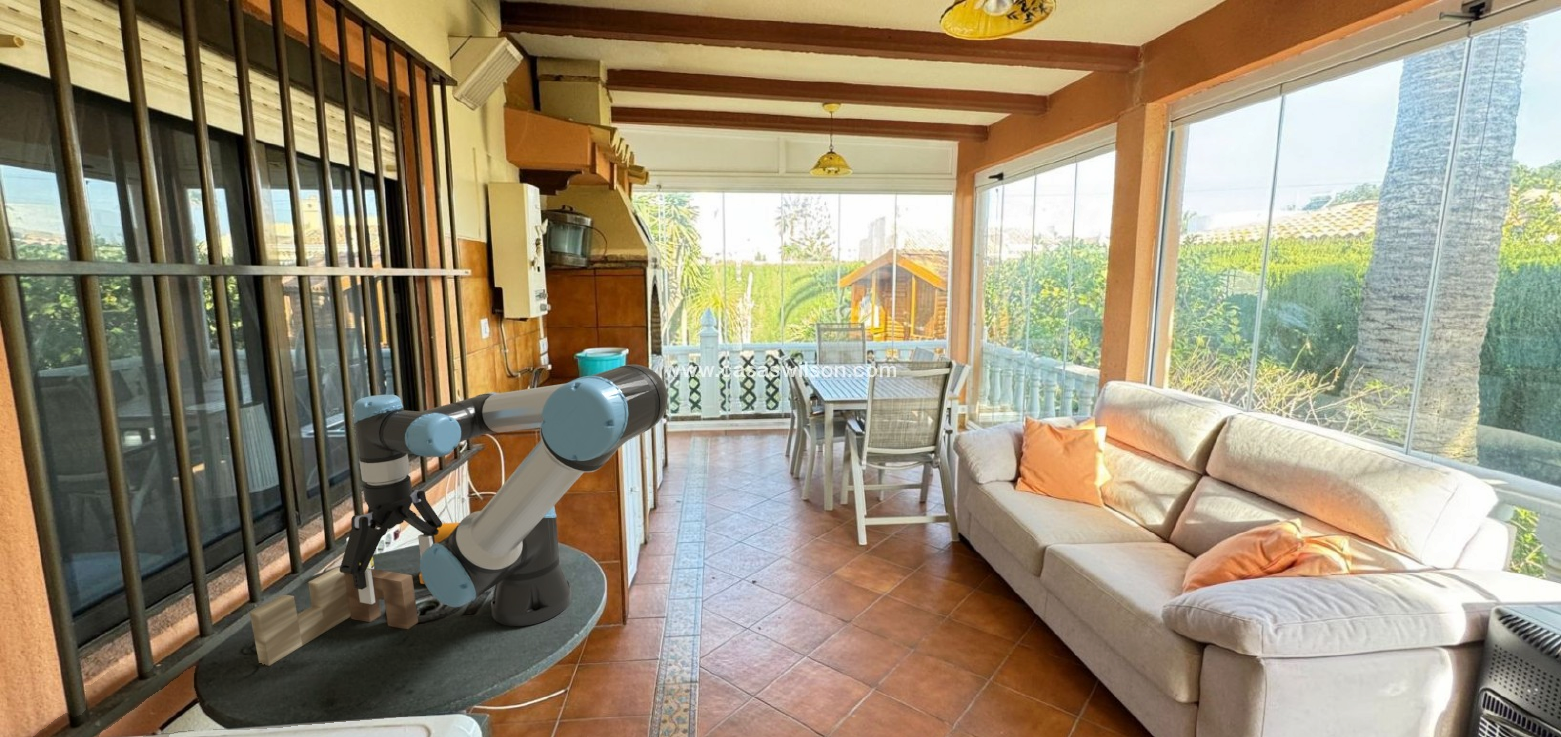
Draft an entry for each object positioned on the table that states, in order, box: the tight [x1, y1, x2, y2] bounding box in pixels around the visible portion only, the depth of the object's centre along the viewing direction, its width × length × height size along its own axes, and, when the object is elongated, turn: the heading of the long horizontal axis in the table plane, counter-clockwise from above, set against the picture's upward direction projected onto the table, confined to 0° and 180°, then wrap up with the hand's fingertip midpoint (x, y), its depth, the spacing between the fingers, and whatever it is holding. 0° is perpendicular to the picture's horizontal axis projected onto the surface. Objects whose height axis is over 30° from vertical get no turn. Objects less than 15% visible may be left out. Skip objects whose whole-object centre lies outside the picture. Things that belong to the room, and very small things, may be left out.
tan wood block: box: [344, 568, 419, 630], centre depth 120 cm, size 14×2×10 cm, turn 75°
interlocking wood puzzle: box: [249, 566, 351, 667], centre depth 115 cm, size 2×16×10 cm, turn 165°
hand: (399, 583), depth 118 cm, fingers open, 13 cm apart
